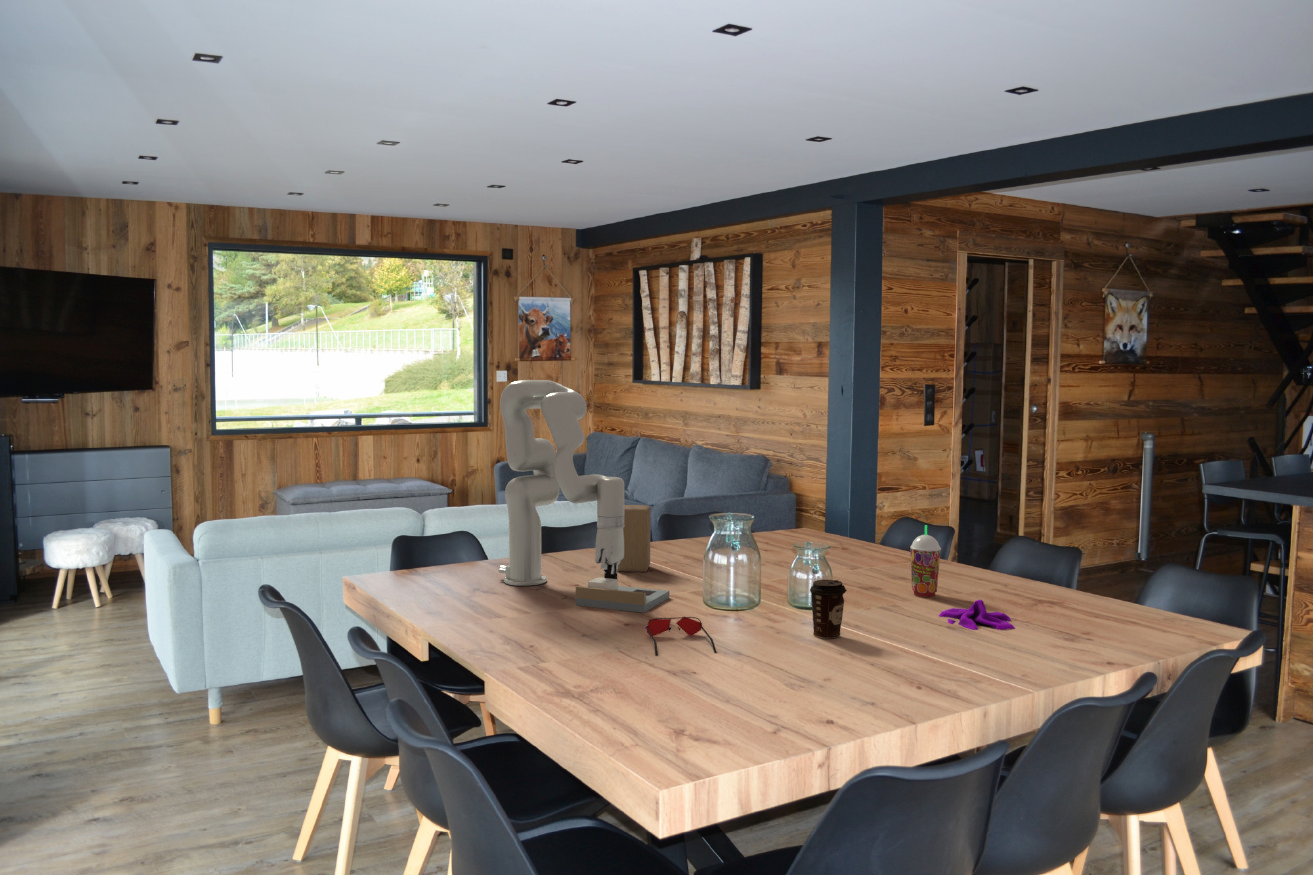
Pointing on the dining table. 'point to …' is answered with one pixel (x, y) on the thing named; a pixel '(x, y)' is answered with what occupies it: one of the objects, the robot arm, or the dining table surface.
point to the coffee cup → (827, 608)
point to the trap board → (620, 598)
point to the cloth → (978, 617)
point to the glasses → (685, 624)
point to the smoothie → (925, 565)
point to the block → (636, 539)
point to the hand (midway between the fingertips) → (610, 587)
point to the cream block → (604, 583)
